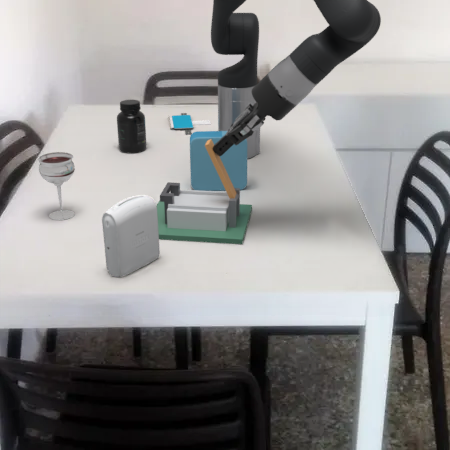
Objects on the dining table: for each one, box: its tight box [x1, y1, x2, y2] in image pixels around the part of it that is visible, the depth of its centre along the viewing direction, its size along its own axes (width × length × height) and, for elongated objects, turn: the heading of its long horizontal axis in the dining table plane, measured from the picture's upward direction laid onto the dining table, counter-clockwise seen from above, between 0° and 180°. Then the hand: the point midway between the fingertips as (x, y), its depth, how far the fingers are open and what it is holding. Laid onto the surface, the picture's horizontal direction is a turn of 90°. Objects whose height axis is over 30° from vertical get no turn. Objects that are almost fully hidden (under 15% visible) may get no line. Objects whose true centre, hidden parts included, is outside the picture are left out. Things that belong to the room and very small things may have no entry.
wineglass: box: [37, 151, 76, 221], centre depth 141 cm, size 7×7×12 cm
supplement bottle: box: [116, 99, 147, 154], centre depth 178 cm, size 7×7×12 cm
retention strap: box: [205, 139, 239, 203], centre depth 135 cm, size 1×3×13 cm, turn 172°
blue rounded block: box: [189, 130, 248, 192], centre depth 155 cm, size 12×4×12 cm, turn 93°
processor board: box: [156, 182, 253, 245], centre depth 139 cm, size 19×16×7 cm
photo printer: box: [101, 194, 161, 278], centre depth 122 cm, size 10×4×12 cm, turn 140°
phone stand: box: [167, 112, 212, 135], centre depth 200 cm, size 20×12×2 cm, turn 7°
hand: (216, 151), depth 133 cm, fingers closed
